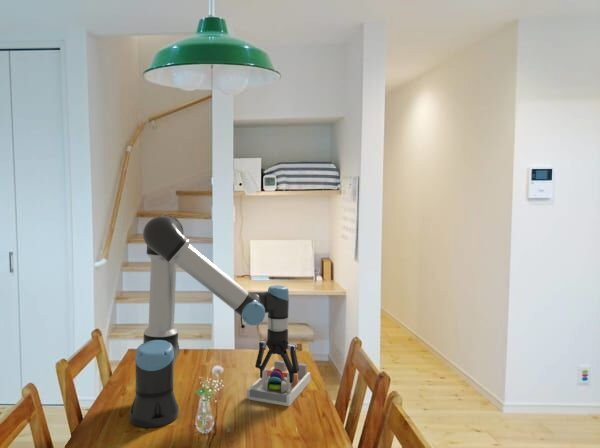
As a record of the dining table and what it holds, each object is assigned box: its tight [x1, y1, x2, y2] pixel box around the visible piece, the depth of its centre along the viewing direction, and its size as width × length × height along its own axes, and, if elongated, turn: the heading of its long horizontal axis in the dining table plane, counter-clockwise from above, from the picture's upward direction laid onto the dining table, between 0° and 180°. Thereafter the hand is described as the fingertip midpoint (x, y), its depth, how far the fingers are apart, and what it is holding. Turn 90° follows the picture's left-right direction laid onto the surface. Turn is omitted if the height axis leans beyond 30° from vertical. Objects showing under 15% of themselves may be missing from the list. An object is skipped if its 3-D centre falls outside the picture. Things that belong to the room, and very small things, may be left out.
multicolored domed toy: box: [263, 369, 287, 393], centre depth 169 cm, size 8×10×7 cm
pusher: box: [266, 368, 298, 387], centre depth 178 cm, size 11×13×5 cm
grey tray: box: [246, 359, 311, 407], centre depth 173 cm, size 24×16×6 cm, turn 161°
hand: (276, 388), depth 169 cm, fingers closed on multicolored domed toy, 9 cm apart
